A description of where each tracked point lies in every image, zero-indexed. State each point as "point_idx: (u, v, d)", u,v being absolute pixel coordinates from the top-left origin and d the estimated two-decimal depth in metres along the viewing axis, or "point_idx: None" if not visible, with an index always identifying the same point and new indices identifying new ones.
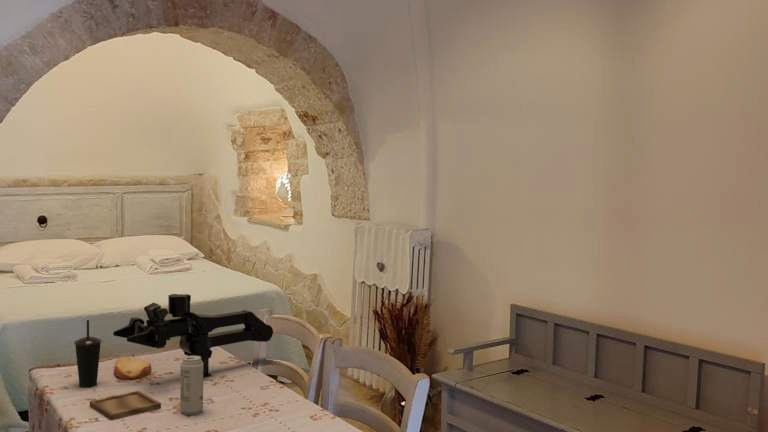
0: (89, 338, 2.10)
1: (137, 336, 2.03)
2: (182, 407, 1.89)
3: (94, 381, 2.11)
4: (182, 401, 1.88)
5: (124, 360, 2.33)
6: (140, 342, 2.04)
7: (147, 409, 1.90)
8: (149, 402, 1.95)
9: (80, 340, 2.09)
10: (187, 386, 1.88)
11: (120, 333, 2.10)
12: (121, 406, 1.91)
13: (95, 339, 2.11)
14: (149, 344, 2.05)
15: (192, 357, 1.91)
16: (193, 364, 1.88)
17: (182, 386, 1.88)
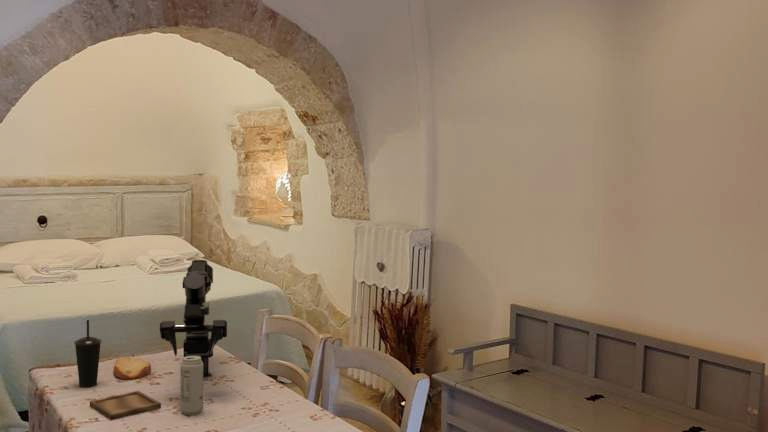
0: (89, 338, 2.10)
1: (213, 344, 2.00)
2: (182, 407, 1.89)
3: (94, 381, 2.11)
4: (182, 401, 1.88)
5: (124, 360, 2.33)
6: (214, 345, 2.02)
7: (147, 409, 1.90)
8: (149, 402, 1.95)
9: (80, 340, 2.09)
10: (187, 386, 1.87)
11: (176, 349, 1.98)
12: (121, 406, 1.91)
13: (95, 339, 2.11)
14: (217, 340, 2.05)
15: (192, 357, 1.91)
16: (193, 364, 1.88)
17: (182, 386, 1.88)
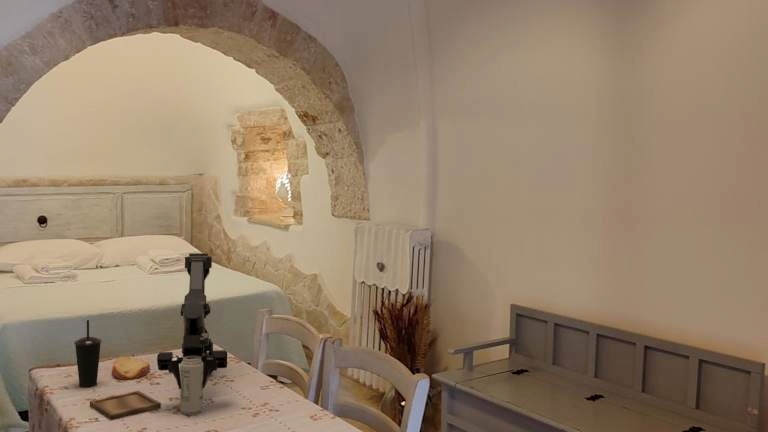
0: (89, 338, 2.10)
1: (207, 377, 1.91)
2: (182, 407, 1.89)
3: (94, 381, 2.11)
4: (182, 401, 1.88)
5: (123, 360, 2.33)
6: (208, 377, 1.93)
7: (147, 409, 1.90)
8: (149, 402, 1.95)
9: (80, 340, 2.09)
10: (187, 386, 1.87)
11: (180, 381, 1.90)
12: (121, 406, 1.91)
13: (95, 339, 2.11)
14: (211, 371, 1.96)
15: (192, 357, 1.91)
16: (193, 364, 1.88)
17: (182, 386, 1.88)
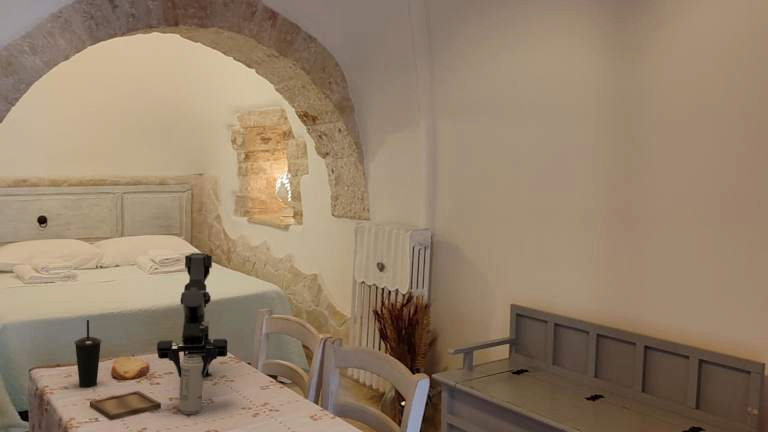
0: (89, 338, 2.10)
1: (207, 365, 1.91)
2: (180, 406, 1.89)
3: (94, 381, 2.11)
4: (181, 400, 1.89)
5: (123, 360, 2.33)
6: (208, 366, 1.93)
7: (147, 409, 1.90)
8: (149, 402, 1.95)
9: (80, 340, 2.09)
10: (186, 385, 1.88)
11: None
12: (121, 406, 1.91)
13: (95, 339, 2.11)
14: (211, 359, 1.95)
15: (193, 356, 1.91)
16: (192, 363, 1.88)
17: (181, 385, 1.88)
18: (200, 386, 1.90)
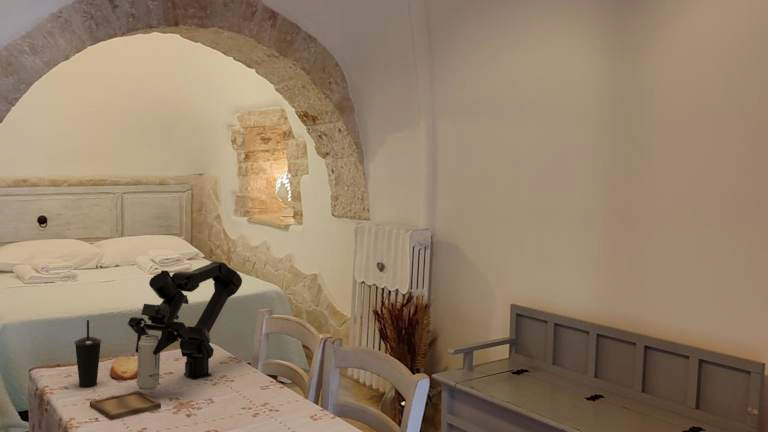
0: (89, 338, 2.10)
1: (160, 345, 2.00)
2: (137, 381, 2.01)
3: (94, 381, 2.11)
4: (137, 375, 2.01)
5: (123, 360, 2.33)
6: (165, 346, 2.02)
7: (147, 409, 1.90)
8: (149, 402, 1.95)
9: (80, 340, 2.09)
10: (139, 362, 2.00)
11: None
12: (121, 406, 1.91)
13: (95, 339, 2.11)
14: (172, 341, 2.03)
15: (151, 336, 2.02)
16: (144, 342, 1.99)
17: None
18: (152, 365, 1.99)
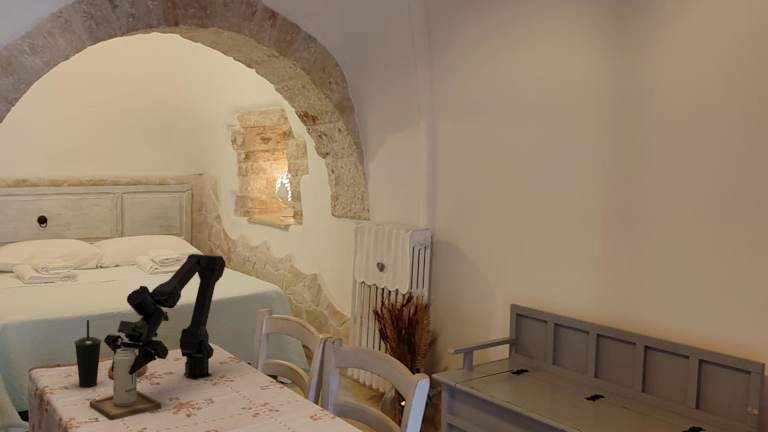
0: (89, 338, 2.10)
1: (136, 364, 1.91)
2: (113, 396, 1.93)
3: (94, 381, 2.11)
4: None
5: None
6: (141, 365, 1.93)
7: (147, 409, 1.90)
8: (149, 402, 1.95)
9: (80, 340, 2.09)
10: (114, 377, 1.91)
11: None
12: (121, 406, 1.91)
13: (95, 339, 2.11)
14: (149, 360, 1.95)
15: (127, 349, 1.93)
16: (119, 356, 1.90)
17: None
18: (128, 380, 1.91)
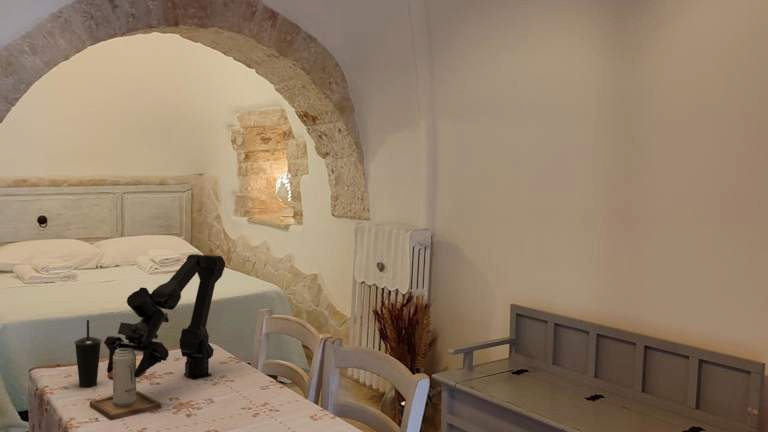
0: (89, 338, 2.10)
1: (141, 367, 1.91)
2: None
3: (94, 381, 2.11)
4: None
5: None
6: (146, 368, 1.92)
7: (147, 409, 1.90)
8: (149, 402, 1.95)
9: (80, 340, 2.09)
10: (114, 377, 1.91)
11: (112, 366, 1.94)
12: (121, 406, 1.91)
13: (95, 339, 2.11)
14: (154, 362, 1.94)
15: (126, 349, 1.93)
16: (118, 356, 1.90)
17: None
18: (127, 380, 1.91)
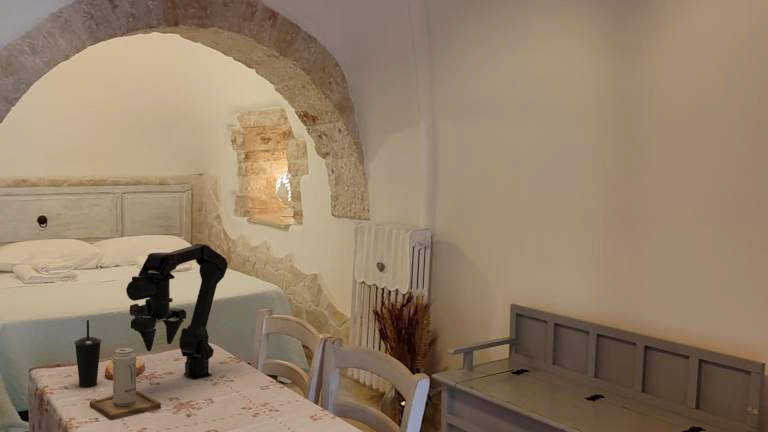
0: (89, 338, 2.10)
1: (144, 342, 2.03)
2: None
3: (94, 381, 2.11)
4: None
5: None
6: (149, 340, 2.02)
7: (147, 409, 1.90)
8: (149, 402, 1.95)
9: (80, 340, 2.09)
10: (114, 377, 1.91)
11: (169, 337, 2.12)
12: (121, 406, 1.91)
13: (95, 339, 2.11)
14: (150, 333, 2.01)
15: (126, 349, 1.93)
16: (118, 356, 1.90)
17: None
18: (127, 380, 1.91)
